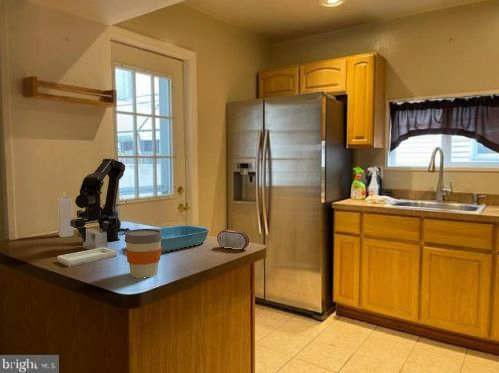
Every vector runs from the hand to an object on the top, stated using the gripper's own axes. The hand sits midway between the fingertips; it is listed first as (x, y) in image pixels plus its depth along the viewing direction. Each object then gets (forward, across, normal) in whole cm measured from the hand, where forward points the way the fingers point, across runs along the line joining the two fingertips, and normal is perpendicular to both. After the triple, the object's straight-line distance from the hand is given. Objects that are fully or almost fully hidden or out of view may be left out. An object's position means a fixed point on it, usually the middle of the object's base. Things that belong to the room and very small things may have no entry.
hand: (94, 240), depth 167 cm
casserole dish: (+4, -27, +20) cm, 34 cm away
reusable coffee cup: (+4, +6, +47) cm, 48 cm away
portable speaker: (+4, -41, +45) cm, 61 cm away
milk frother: (+4, -25, -25) cm, 36 cm away
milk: (+4, -3, -36) cm, 36 cm away
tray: (+4, +10, +14) cm, 18 cm away
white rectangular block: (+4, 0, 0) cm, 4 cm away
